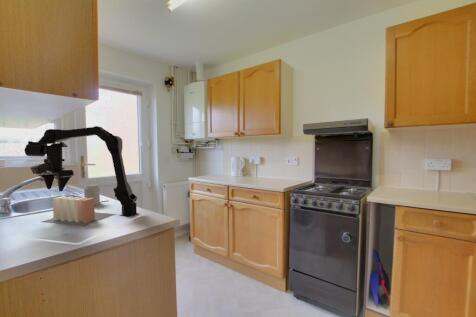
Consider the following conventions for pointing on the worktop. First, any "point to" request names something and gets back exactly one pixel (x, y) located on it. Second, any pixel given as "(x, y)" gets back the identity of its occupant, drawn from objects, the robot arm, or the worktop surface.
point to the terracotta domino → (88, 210)
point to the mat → (97, 218)
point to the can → (92, 193)
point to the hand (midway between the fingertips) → (54, 190)
